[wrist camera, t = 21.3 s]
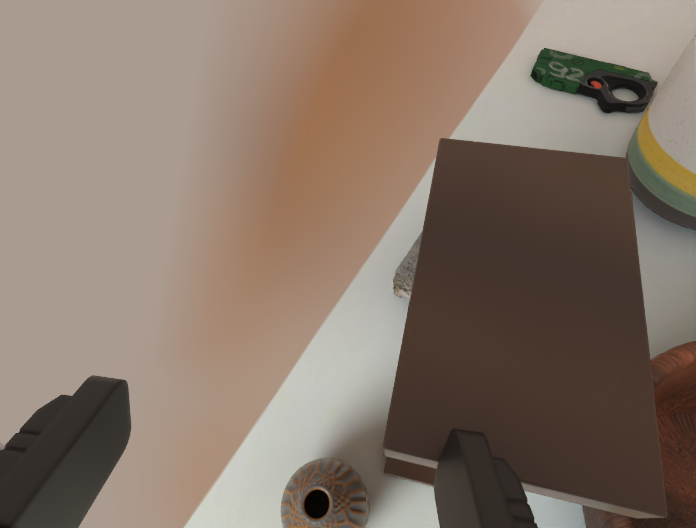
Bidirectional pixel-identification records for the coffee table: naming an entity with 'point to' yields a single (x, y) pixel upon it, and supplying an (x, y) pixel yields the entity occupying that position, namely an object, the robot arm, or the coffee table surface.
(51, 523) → the robot arm
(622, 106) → the gun
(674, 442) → the wooden bowl
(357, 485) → the vase
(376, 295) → the coffee table surface
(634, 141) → the vase
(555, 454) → the stand
